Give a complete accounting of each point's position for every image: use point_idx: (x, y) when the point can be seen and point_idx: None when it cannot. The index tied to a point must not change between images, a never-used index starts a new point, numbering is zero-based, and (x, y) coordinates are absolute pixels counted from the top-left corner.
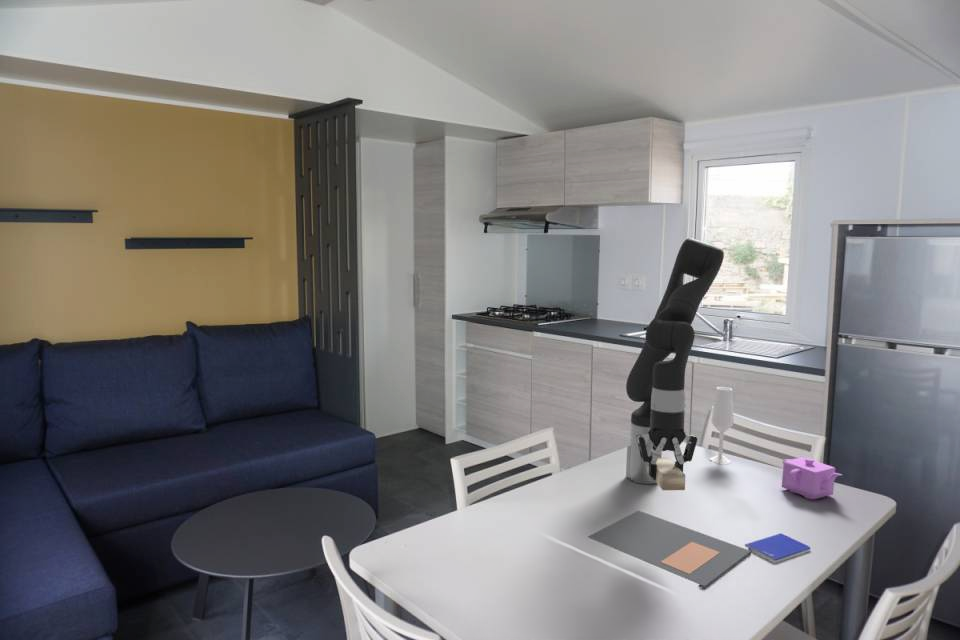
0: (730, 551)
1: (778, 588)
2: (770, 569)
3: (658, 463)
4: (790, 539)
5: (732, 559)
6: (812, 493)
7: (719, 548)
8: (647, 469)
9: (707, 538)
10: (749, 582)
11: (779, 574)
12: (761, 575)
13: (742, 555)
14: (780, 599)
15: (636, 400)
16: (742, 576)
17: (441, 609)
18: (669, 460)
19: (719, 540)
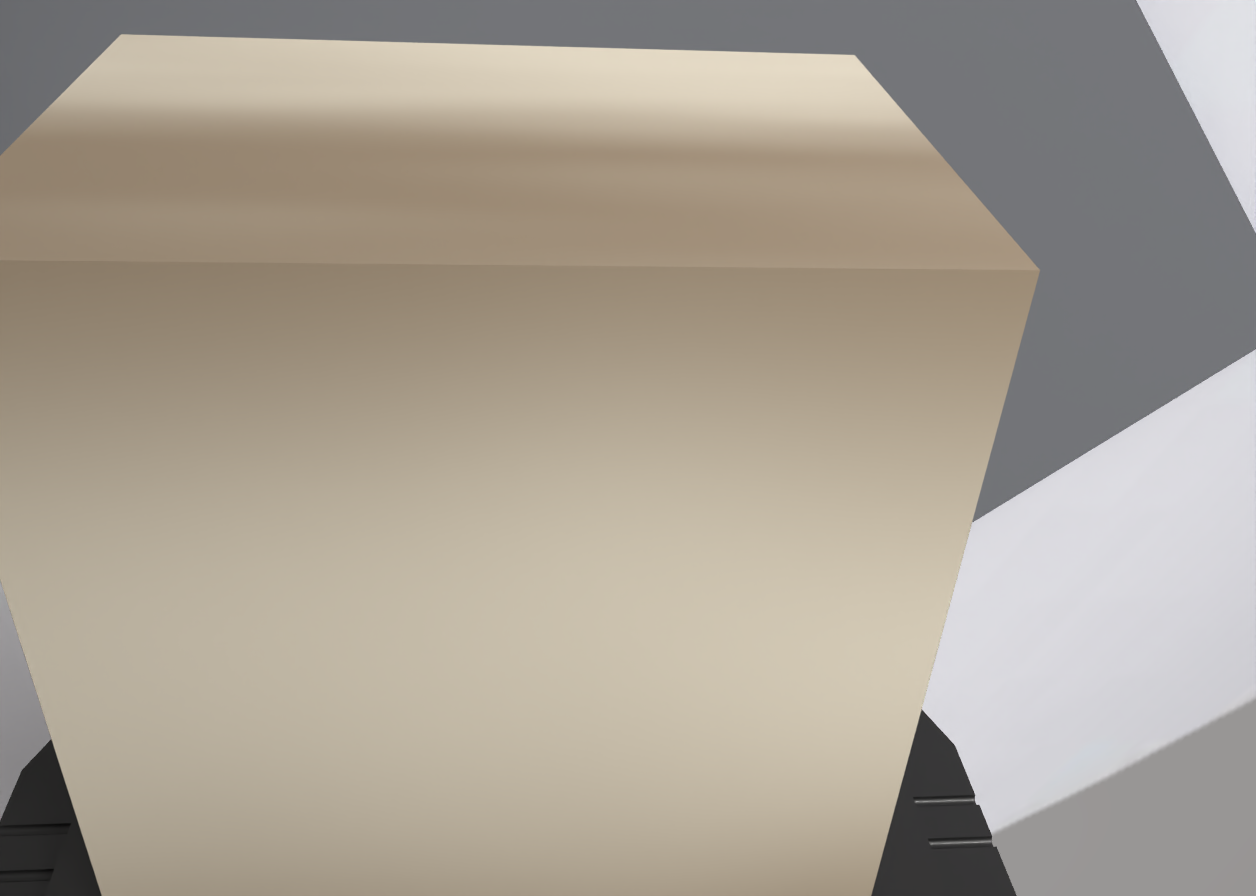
0: (1107, 326)
1: (1085, 718)
2: (1229, 531)
3: (321, 863)
4: None
5: (1024, 453)
6: None
7: (1044, 270)
8: (93, 83)
9: (1065, 49)
10: (949, 669)
11: (1234, 586)
12: (1097, 598)
13: (1160, 392)
14: (1006, 802)
15: None
16: (952, 610)
17: None
18: (895, 597)
19: (1163, 104)
